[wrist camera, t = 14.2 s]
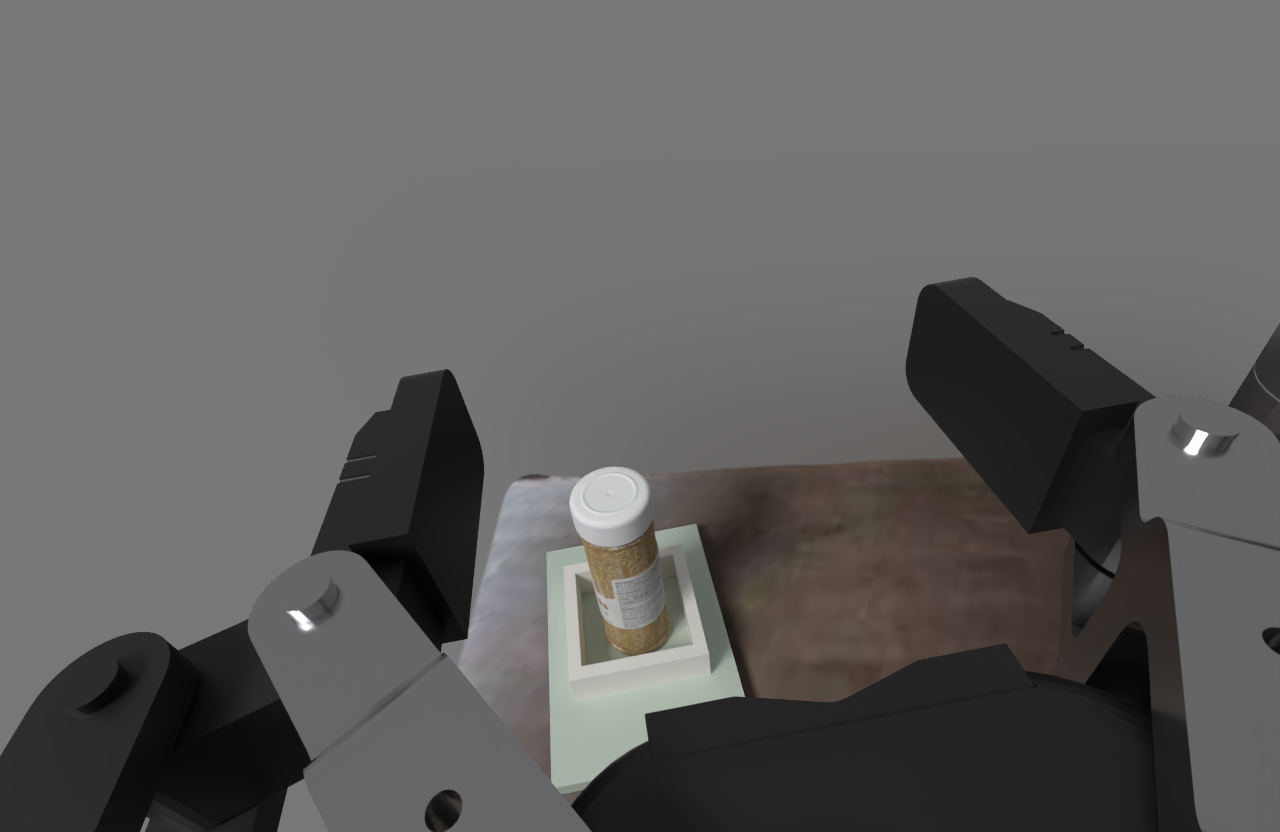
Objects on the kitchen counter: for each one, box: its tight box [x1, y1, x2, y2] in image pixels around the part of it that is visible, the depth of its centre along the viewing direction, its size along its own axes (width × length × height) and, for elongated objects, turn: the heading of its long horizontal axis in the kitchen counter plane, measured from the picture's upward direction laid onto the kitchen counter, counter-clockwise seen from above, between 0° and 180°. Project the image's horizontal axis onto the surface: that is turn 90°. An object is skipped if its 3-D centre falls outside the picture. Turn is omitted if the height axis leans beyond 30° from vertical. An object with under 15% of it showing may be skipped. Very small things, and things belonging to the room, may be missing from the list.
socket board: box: [547, 524, 745, 794], centre depth 40 cm, size 12×17×4 cm
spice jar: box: [569, 467, 670, 656], centre depth 37 cm, size 5×5×13 cm
